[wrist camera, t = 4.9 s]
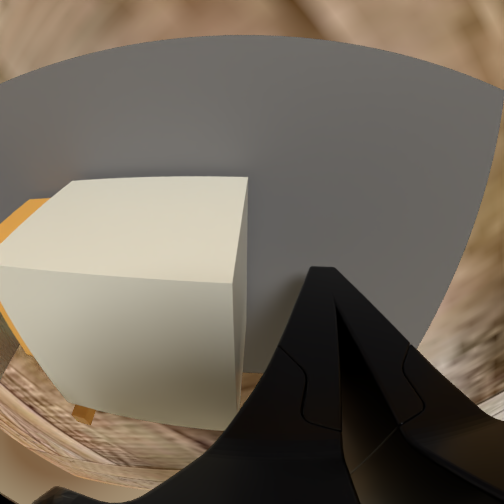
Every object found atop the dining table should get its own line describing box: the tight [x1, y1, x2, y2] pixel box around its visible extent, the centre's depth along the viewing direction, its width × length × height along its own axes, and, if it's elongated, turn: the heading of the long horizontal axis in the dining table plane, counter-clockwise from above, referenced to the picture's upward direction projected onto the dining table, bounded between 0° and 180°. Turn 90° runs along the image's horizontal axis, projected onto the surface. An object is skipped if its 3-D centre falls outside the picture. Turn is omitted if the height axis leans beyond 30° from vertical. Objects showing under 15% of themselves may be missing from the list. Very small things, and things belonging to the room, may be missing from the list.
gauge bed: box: [0, 35, 504, 379], centre depth 7 cm, size 20×12×7 cm, turn 89°
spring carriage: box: [0, 176, 248, 431], centre depth 7 cm, size 5×5×4 cm
